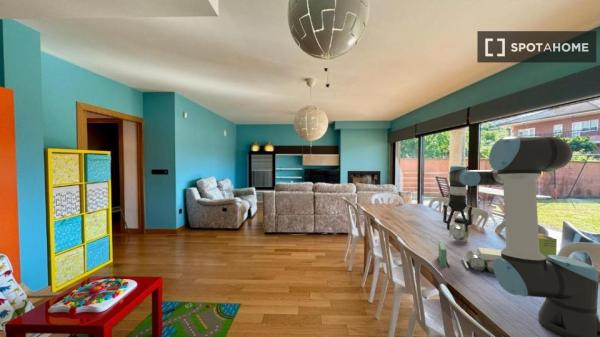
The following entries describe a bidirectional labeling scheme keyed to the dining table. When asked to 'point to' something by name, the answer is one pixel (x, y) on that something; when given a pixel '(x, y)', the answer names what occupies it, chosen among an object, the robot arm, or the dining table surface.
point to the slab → (489, 253)
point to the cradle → (462, 260)
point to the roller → (457, 232)
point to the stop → (442, 254)
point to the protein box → (547, 245)
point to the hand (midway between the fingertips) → (456, 236)
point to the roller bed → (479, 262)
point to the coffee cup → (460, 222)
